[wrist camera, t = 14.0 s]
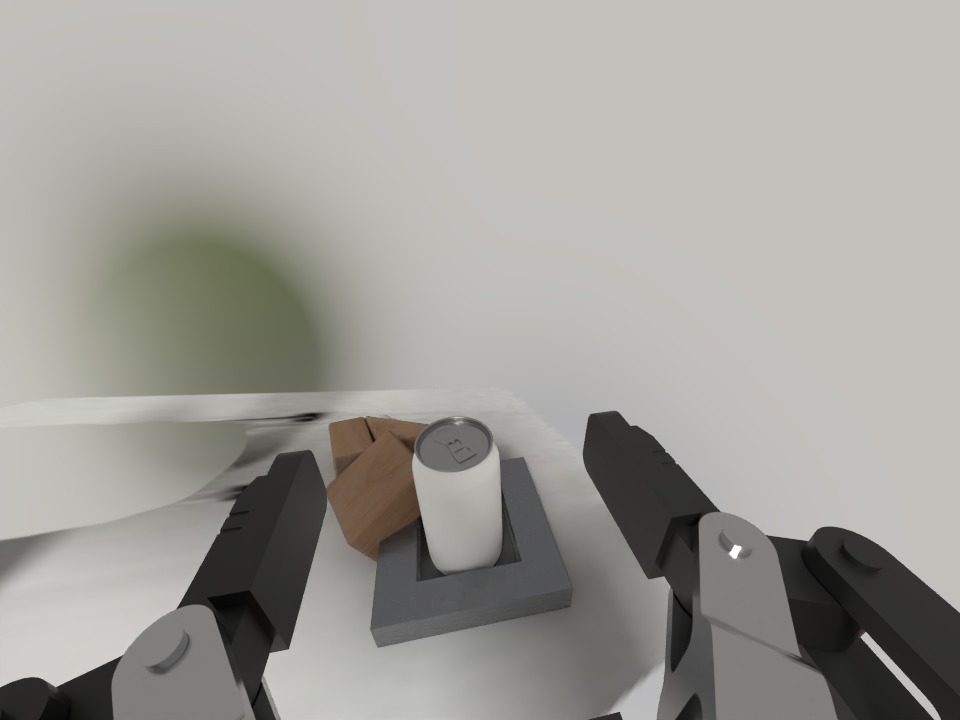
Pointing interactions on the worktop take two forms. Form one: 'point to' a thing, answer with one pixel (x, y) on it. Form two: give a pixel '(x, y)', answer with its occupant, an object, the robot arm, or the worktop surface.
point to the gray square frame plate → (471, 575)
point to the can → (459, 494)
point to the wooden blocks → (373, 479)
